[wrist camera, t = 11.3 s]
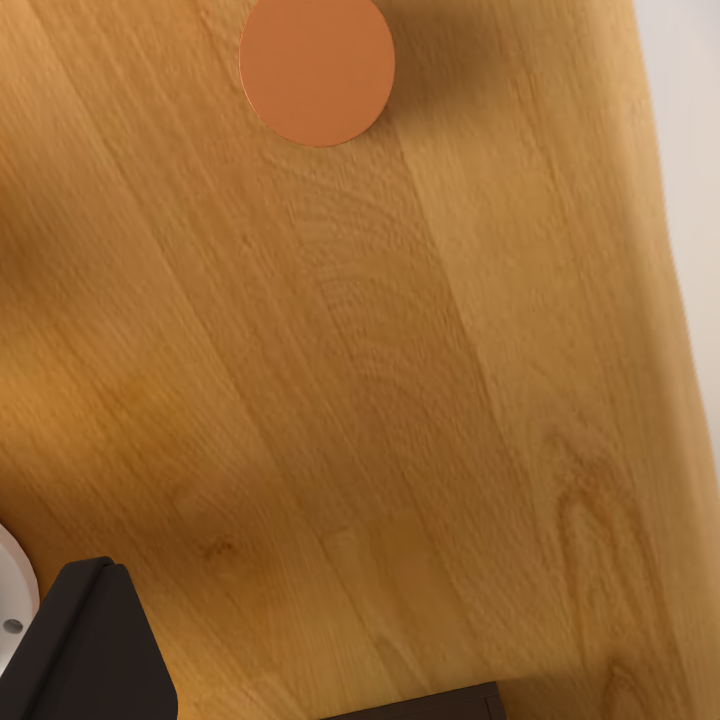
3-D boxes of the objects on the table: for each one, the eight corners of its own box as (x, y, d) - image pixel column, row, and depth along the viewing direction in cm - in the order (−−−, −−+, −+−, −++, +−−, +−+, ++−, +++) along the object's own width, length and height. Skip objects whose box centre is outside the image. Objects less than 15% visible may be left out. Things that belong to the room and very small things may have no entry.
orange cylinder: (235, 16, 22) (217, -6, 18) (365, -15, 22) (378, -44, 18) (271, 153, 23) (262, 162, 19) (391, 125, 23) (408, 128, 19)
